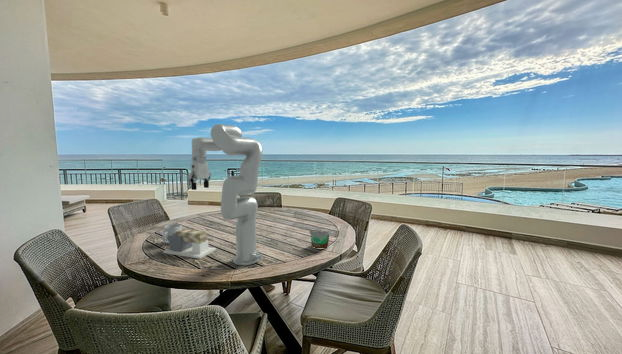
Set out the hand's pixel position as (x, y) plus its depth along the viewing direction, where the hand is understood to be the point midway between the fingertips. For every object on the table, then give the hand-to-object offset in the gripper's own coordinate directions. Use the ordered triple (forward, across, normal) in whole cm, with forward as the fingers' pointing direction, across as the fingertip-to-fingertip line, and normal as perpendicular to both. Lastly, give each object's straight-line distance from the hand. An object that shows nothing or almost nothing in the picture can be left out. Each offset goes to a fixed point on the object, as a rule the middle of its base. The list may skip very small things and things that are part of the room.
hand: (200, 188), depth 138 cm
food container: (+32, +12, -70) cm, 78 cm away
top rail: (+26, -14, -6) cm, 30 cm away
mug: (+32, -8, +15) cm, 37 cm away
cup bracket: (+32, -14, -6) cm, 36 cm away
